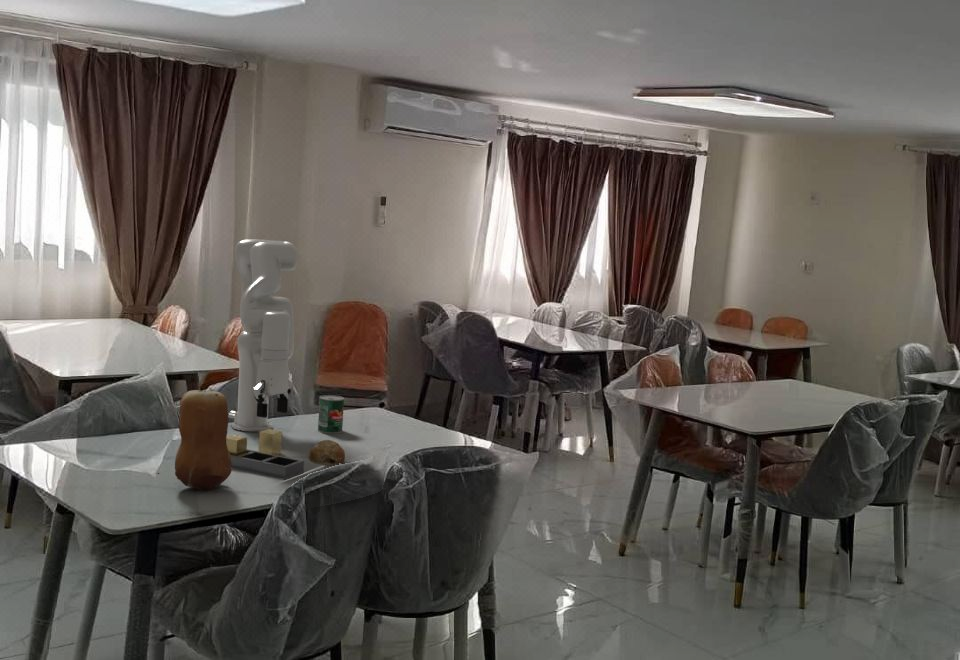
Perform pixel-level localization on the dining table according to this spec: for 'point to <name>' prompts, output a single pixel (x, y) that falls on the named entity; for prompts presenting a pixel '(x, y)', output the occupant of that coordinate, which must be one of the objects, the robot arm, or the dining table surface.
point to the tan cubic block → (270, 441)
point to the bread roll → (327, 453)
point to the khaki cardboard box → (236, 445)
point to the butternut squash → (203, 440)
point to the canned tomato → (330, 414)
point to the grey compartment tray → (268, 464)
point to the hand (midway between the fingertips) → (272, 414)
